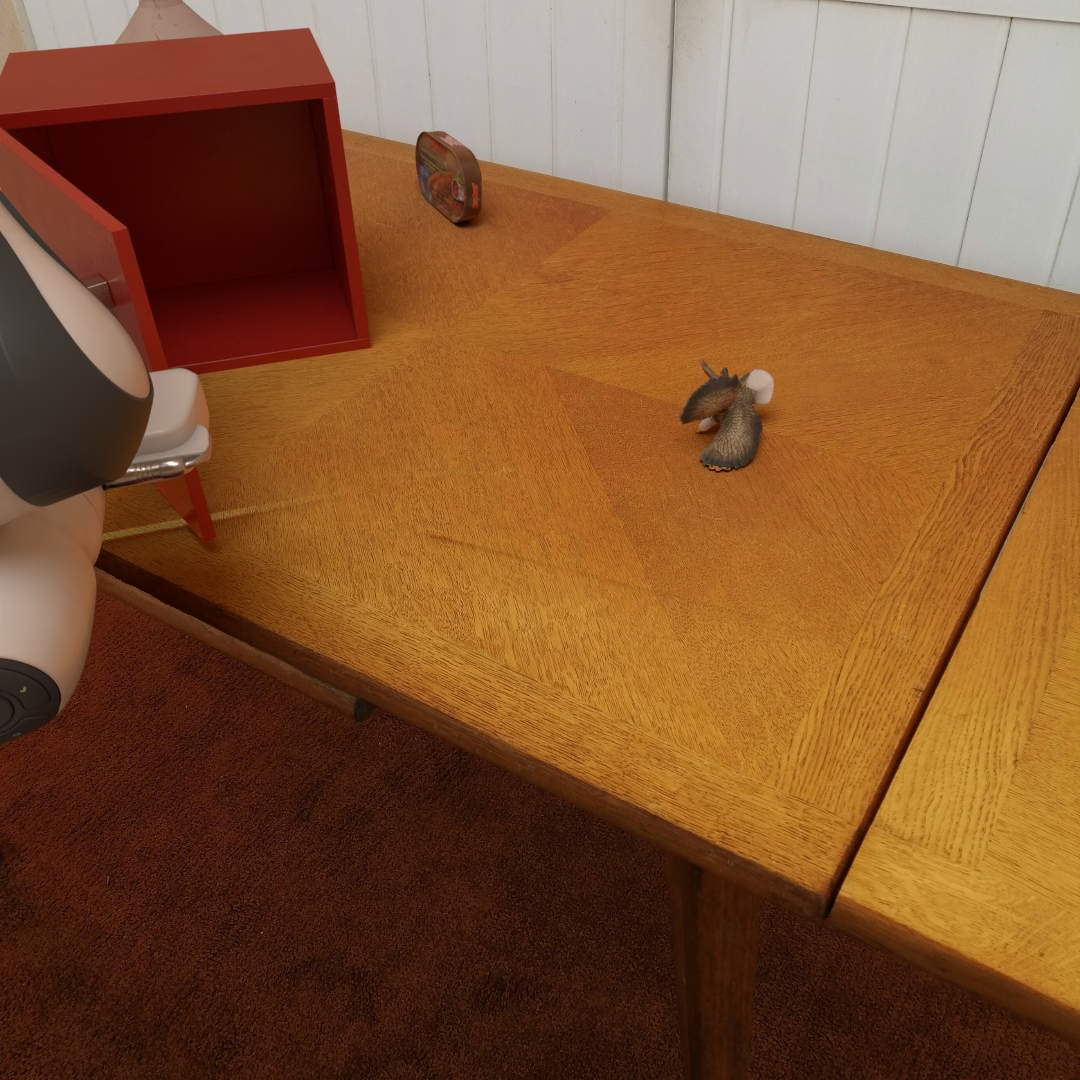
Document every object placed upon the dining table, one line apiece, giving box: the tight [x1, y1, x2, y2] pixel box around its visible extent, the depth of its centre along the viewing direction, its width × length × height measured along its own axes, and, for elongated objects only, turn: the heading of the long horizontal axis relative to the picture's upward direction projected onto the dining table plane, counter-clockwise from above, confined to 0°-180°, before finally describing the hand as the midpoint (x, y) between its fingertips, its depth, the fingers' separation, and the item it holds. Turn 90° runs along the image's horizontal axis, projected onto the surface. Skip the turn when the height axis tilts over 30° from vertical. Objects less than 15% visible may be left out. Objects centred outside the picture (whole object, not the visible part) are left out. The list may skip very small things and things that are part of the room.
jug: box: [114, 0, 225, 44], centre depth 124 cm, size 20×18×30 cm
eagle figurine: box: [678, 359, 775, 469], centre depth 82 cm, size 8×7×9 cm
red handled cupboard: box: [0, 127, 218, 543], centre depth 73 cm, size 6×26×24 cm, turn 39°
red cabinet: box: [0, 27, 372, 376], centre depth 92 cm, size 18×26×24 cm
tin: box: [414, 130, 483, 224], centre depth 120 cm, size 15×3×8 cm, turn 27°
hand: (44, 375), depth 65 cm, fingers closed
